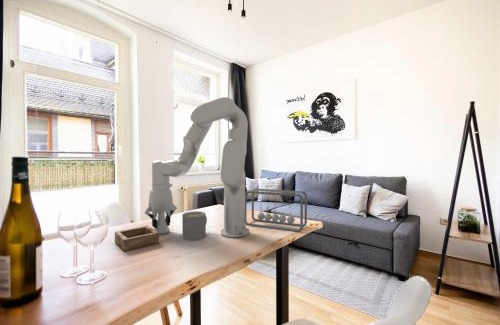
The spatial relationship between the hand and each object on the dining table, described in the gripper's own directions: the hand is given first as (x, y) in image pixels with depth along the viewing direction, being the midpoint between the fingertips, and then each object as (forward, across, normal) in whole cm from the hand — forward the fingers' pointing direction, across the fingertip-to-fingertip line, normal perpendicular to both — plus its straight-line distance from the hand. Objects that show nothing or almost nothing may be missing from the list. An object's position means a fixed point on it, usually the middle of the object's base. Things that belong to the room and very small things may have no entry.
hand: (161, 225), depth 112 cm
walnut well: (+3, +13, +7) cm, 15 cm away
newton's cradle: (+3, -47, +29) cm, 55 cm away
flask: (+3, 0, 0) cm, 3 cm away
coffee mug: (+3, -10, +15) cm, 18 cm away
